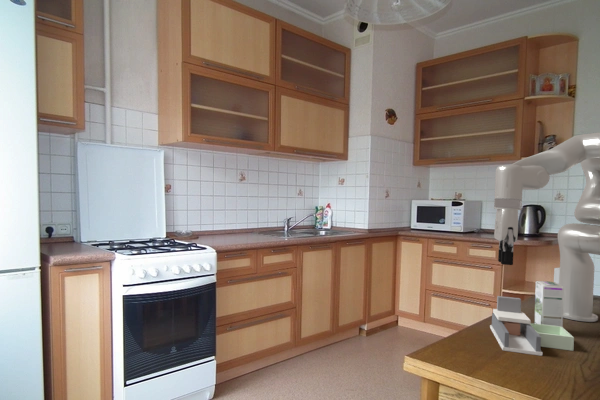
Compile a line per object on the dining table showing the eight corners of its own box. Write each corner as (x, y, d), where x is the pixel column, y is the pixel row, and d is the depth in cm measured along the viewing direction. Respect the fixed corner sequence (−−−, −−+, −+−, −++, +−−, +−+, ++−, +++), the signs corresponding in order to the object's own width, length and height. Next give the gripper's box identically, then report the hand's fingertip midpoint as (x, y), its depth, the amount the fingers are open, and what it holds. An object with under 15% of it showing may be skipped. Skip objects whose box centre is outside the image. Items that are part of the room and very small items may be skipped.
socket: (526, 334, 111) (526, 322, 111) (561, 338, 108) (561, 326, 108) (535, 345, 102) (535, 332, 102) (573, 350, 100) (574, 337, 100)
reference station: (490, 327, 116) (490, 312, 115) (523, 331, 113) (524, 316, 113) (502, 350, 98) (503, 332, 98) (542, 355, 96) (543, 337, 96)
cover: (492, 312, 115) (493, 295, 114) (522, 315, 112) (523, 298, 112) (498, 320, 107) (499, 302, 107) (530, 324, 105) (531, 306, 104)
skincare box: (563, 299, 151) (564, 269, 151) (552, 297, 155) (553, 267, 155) (572, 298, 153) (574, 269, 153) (562, 295, 157) (563, 267, 157)
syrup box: (563, 335, 110) (565, 286, 110) (540, 333, 112) (542, 284, 111) (554, 329, 116) (556, 281, 116) (532, 327, 117) (534, 280, 117)
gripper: (489, 203, 128) (487, 258, 128) (499, 204, 112) (497, 267, 112) (514, 204, 125) (512, 260, 126) (528, 205, 110) (526, 269, 110)
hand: (505, 262), depth 119 cm, fingers open, 3 cm apart
